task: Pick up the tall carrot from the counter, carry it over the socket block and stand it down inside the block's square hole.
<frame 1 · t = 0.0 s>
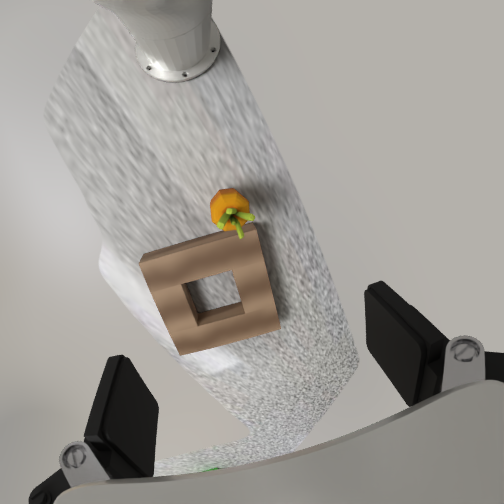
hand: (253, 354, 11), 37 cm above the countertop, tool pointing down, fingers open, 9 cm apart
socket block: (213, 287, 50), on the countertop
carrot: (225, 196, 45), on the countertop
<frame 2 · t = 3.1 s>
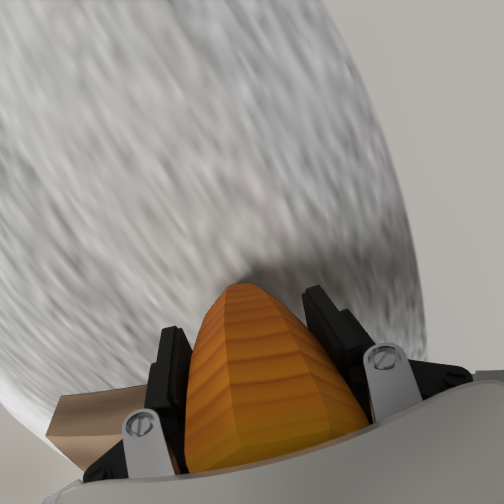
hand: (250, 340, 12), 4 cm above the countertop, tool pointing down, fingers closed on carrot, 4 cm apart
socket block: (213, 450, 21), on the countertop
carrot: (237, 287, 16), on the countertop, touching gripper
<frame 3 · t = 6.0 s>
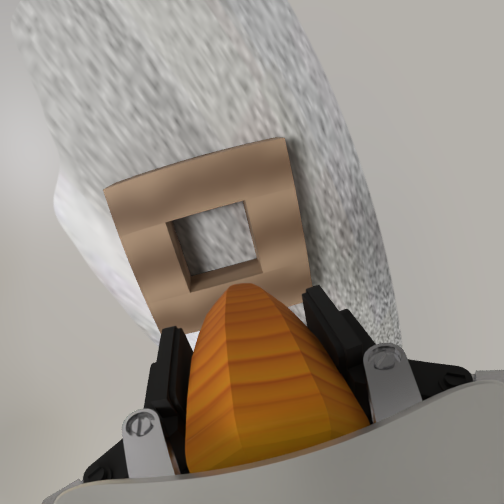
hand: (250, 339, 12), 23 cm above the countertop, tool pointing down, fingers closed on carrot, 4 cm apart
socket block: (214, 236, 34), on the countertop
carrot: (238, 287, 16), point 18 cm above the countertop, touching gripper
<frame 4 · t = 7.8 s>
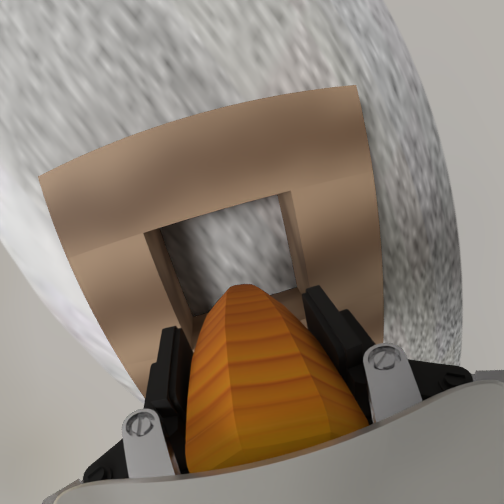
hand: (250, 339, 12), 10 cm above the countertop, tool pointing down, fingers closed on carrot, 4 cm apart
socket block: (230, 253, 21), on the countertop
carrot: (238, 288, 16), point 5 cm above the countertop, touching gripper
when the fingers open (6 cm above the countertop, at t = 9.0 s): carrot drops 1 cm, on the countertop.
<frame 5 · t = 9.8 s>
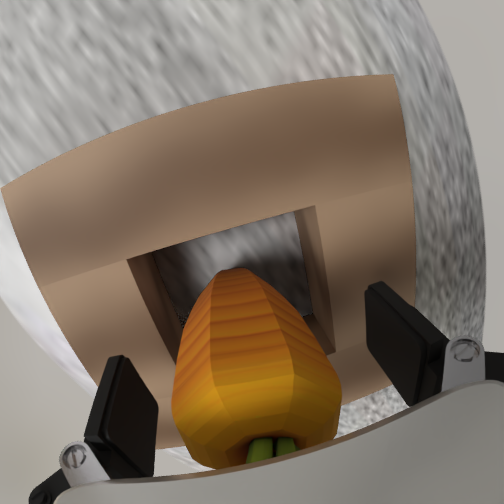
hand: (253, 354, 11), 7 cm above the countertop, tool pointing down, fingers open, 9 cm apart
socket block: (235, 277, 17), on the countertop
carrot: (231, 274, 17), on the countertop
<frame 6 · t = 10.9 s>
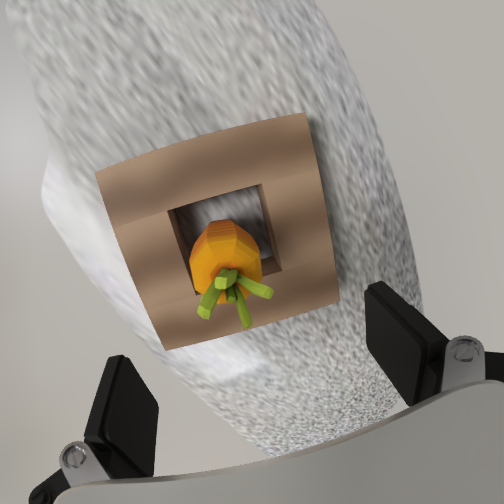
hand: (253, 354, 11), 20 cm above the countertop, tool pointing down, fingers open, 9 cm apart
socket block: (224, 229, 29), on the countertop
carrot: (222, 228, 29), on the countertop
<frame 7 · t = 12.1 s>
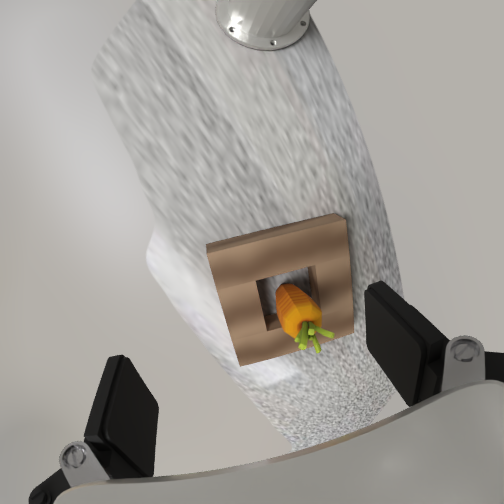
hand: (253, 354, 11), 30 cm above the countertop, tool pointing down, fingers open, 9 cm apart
socket block: (283, 287, 44), on the countertop
carrot: (281, 285, 44), on the countertop
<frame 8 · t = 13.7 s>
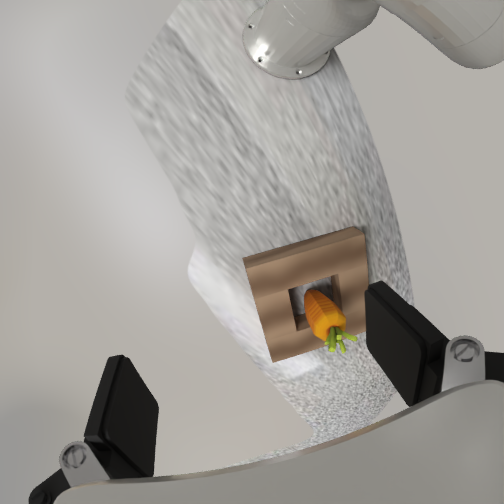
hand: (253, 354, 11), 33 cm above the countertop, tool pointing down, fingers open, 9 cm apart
socket block: (309, 291, 49), on the countertop
carrot: (307, 290, 49), on the countertop
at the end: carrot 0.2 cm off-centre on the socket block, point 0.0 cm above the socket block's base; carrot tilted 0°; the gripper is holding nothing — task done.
